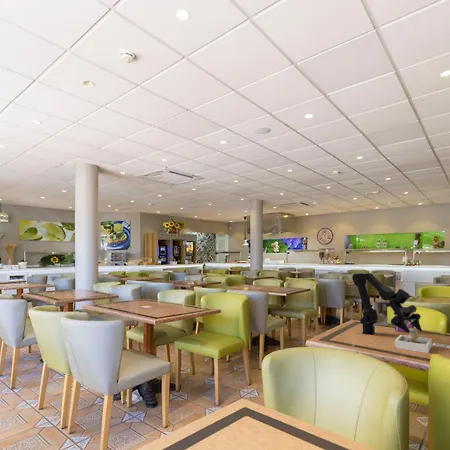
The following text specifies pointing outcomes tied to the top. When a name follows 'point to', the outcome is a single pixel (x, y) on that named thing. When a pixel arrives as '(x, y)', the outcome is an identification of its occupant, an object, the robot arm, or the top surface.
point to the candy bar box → (405, 323)
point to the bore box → (413, 344)
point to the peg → (413, 335)
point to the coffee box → (381, 312)
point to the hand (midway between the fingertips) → (415, 332)
